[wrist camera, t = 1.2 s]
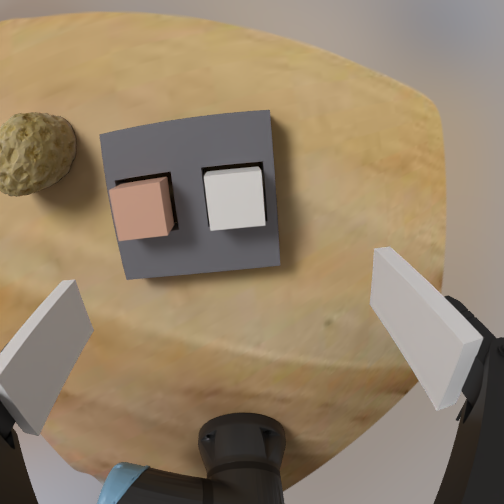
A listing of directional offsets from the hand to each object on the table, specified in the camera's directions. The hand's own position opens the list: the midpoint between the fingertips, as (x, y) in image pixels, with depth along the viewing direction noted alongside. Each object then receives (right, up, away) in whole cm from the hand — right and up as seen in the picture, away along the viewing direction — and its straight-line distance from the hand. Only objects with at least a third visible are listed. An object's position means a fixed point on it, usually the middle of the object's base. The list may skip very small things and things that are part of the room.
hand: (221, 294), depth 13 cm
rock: (-24, +14, +18) cm, 33 cm away
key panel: (-5, +8, +21) cm, 23 cm away
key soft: (0, +7, +18) cm, 20 cm away
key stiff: (-9, +7, +18) cm, 21 cm away
